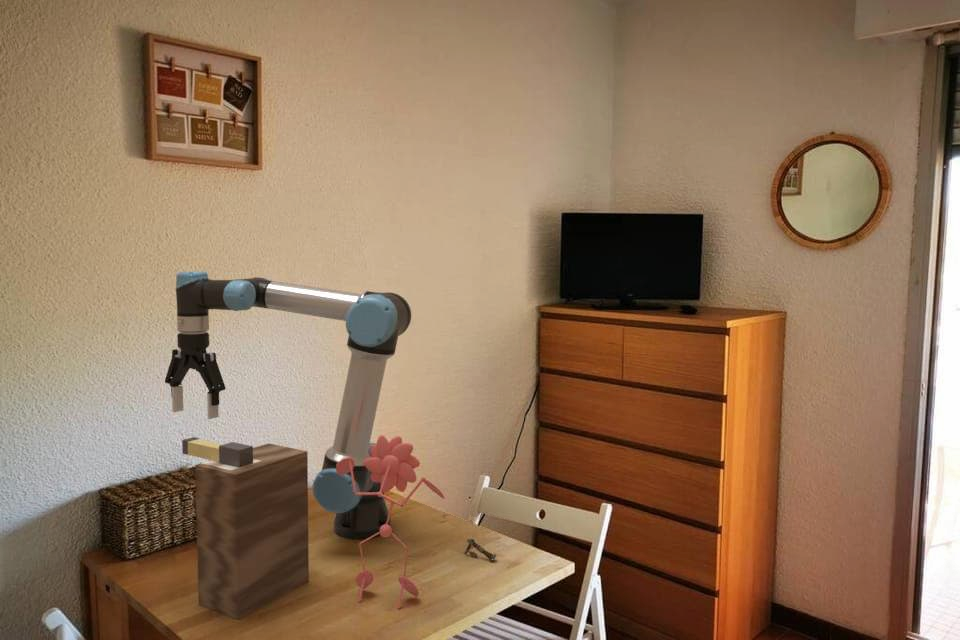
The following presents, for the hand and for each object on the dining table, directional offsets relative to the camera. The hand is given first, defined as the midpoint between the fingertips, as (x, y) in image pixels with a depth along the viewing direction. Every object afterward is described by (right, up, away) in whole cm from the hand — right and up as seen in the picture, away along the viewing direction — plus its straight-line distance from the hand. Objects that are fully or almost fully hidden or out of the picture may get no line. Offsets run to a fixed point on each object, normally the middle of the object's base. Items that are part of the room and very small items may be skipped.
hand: (195, 414), depth 188 cm
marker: (+17, -5, -33) cm, 38 cm away
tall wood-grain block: (+24, -35, -29) cm, 51 cm away
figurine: (+54, -36, -27) cm, 70 cm away
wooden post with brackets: (+73, -34, -10) cm, 81 cm away
